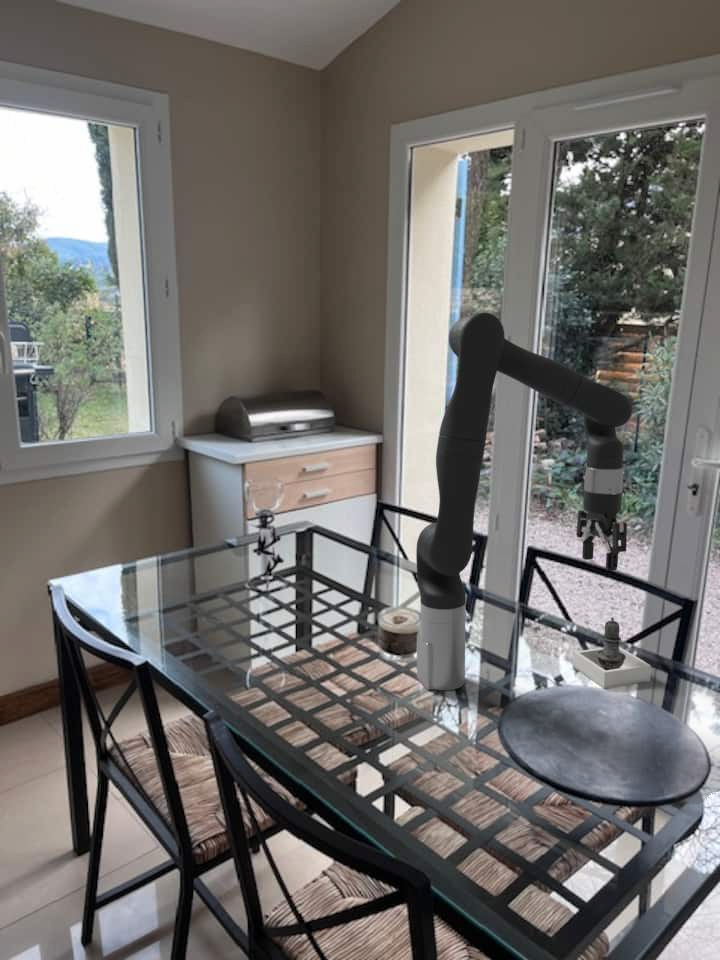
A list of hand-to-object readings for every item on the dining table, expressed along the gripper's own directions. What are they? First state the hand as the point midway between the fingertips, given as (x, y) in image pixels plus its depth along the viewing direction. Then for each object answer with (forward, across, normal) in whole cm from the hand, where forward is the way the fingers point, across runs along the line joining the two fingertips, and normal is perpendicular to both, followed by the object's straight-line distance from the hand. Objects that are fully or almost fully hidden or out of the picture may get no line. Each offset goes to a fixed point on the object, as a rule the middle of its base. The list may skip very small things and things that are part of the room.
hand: (599, 564), depth 151 cm
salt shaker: (+23, +4, +2) cm, 23 cm away
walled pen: (+23, +4, +2) cm, 23 cm away
